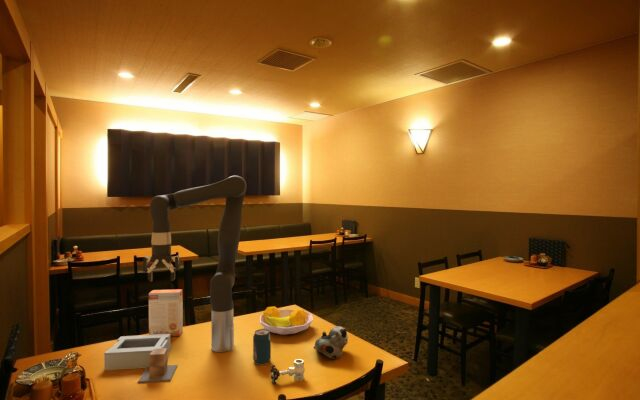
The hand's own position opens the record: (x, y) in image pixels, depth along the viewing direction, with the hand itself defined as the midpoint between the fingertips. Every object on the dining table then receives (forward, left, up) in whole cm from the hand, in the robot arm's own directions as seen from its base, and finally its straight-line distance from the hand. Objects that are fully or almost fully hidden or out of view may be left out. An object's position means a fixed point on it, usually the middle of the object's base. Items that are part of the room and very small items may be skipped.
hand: (161, 281), depth 154 cm
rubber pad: (-4, +20, -30) cm, 36 cm away
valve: (-52, +31, -30) cm, 67 cm away
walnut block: (-4, +20, -30) cm, 36 cm away
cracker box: (+3, -19, -30) cm, 36 cm away
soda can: (-42, +15, -30) cm, 54 cm away
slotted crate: (+7, +6, -30) cm, 31 cm away
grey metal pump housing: (-71, +12, -30) cm, 78 cm away
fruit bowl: (-53, -17, -30) cm, 63 cm away
